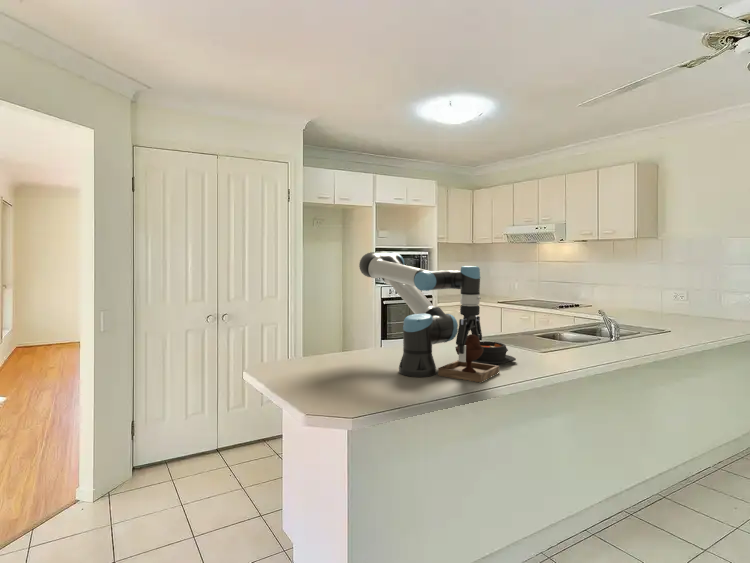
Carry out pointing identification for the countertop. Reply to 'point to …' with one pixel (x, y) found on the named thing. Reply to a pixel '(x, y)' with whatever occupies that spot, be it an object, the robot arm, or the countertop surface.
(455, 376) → the walnut tray
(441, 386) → the countertop surface
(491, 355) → the casserole
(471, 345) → the ice cream bowl
